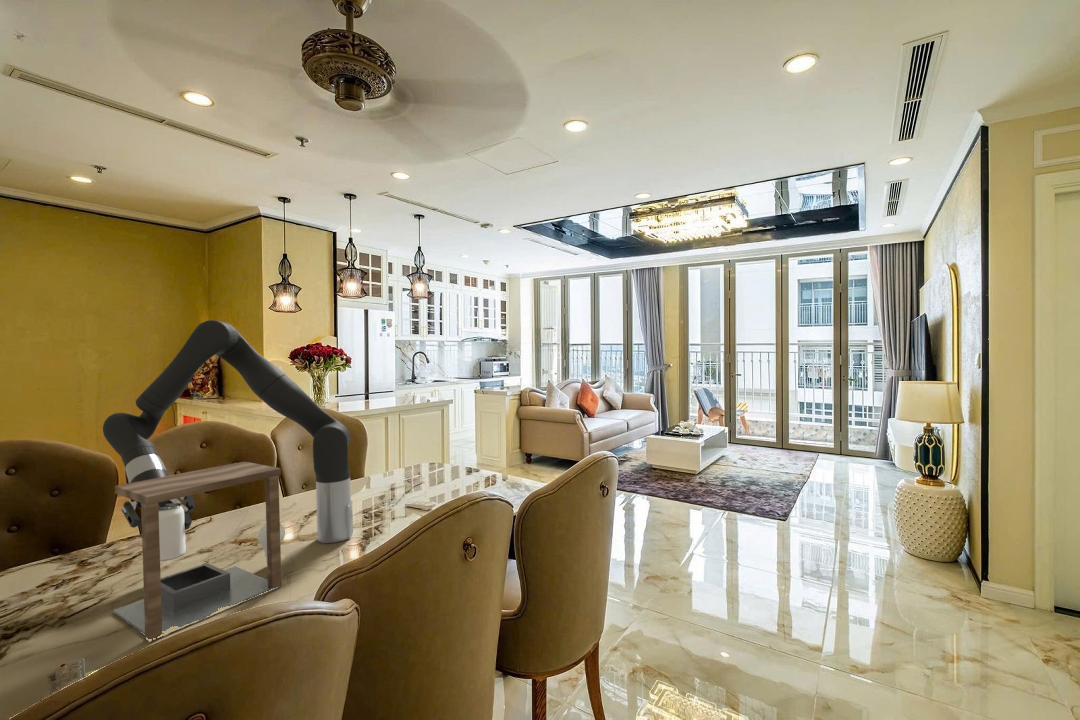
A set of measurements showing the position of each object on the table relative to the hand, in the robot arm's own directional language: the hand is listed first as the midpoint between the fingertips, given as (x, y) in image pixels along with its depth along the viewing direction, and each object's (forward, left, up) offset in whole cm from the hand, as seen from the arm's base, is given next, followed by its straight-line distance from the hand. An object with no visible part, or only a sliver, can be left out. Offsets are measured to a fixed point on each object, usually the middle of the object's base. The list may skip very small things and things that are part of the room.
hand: (171, 531), depth 115 cm
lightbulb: (-21, -3, -12) cm, 24 cm away
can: (+1, -1, -6) cm, 7 cm away
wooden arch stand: (-13, +14, -12) cm, 22 cm away
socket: (-11, +12, -12) cm, 20 cm away
